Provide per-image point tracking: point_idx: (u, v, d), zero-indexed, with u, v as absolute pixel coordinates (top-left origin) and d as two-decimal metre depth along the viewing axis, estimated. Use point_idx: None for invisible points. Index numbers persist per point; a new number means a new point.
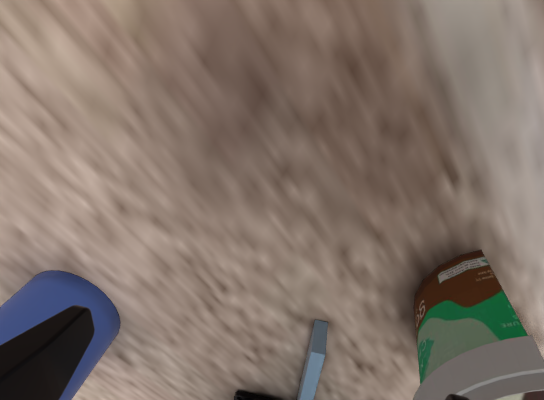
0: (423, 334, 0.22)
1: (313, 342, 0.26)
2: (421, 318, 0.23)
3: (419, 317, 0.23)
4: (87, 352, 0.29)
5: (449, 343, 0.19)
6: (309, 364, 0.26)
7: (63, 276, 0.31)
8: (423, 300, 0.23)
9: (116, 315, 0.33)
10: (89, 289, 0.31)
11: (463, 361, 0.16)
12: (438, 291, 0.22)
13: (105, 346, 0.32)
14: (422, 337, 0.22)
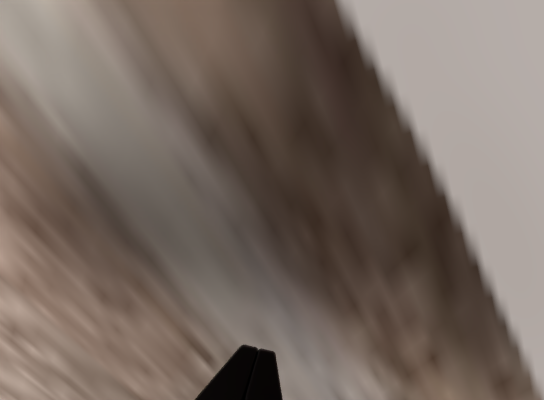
0: None
1: None
2: None
3: None
4: None
5: None
6: None
7: None
8: None
9: None
10: None
11: None
12: None
13: None
14: None
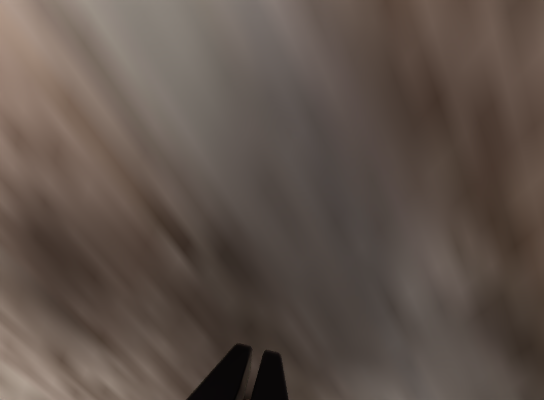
0: None
1: None
2: None
3: None
4: None
5: None
6: None
7: None
8: None
9: None
10: None
11: None
12: None
13: None
14: None
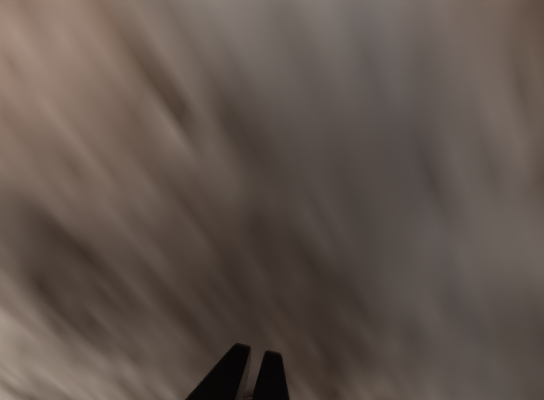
0: None
1: None
2: None
3: None
4: None
5: None
6: None
7: None
8: None
9: None
10: None
11: None
12: None
13: None
14: None
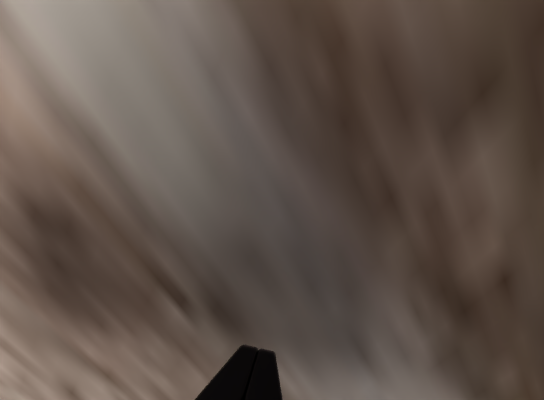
0: None
1: None
2: None
3: None
4: None
5: None
6: None
7: None
8: None
9: None
10: None
11: None
12: None
13: None
14: None
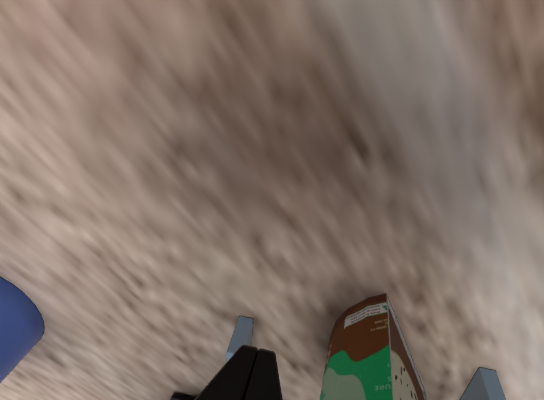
0: (323, 383, 0.21)
1: (231, 341, 0.24)
2: (326, 365, 0.22)
3: (326, 362, 0.23)
4: None
5: None
6: None
7: None
8: (331, 344, 0.23)
9: (37, 314, 0.30)
10: (2, 287, 0.29)
11: None
12: (341, 337, 0.22)
13: (23, 347, 0.29)
14: (322, 386, 0.21)
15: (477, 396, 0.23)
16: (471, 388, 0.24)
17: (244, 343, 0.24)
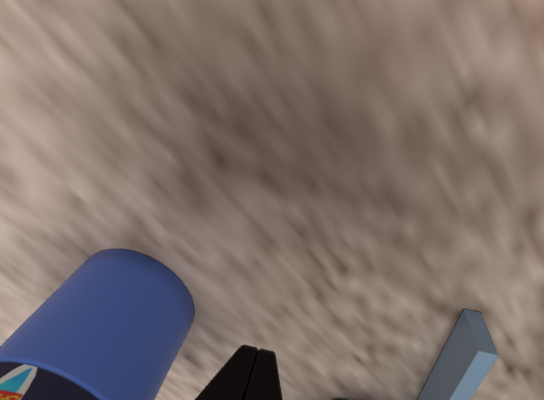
0: None
1: (475, 338, 0.20)
2: None
3: None
4: (166, 352, 0.23)
5: None
6: (470, 367, 0.20)
7: (129, 255, 0.24)
8: None
9: (191, 305, 0.26)
10: (162, 272, 0.24)
11: None
12: None
13: (180, 344, 0.25)
14: None
15: None
16: None
17: (491, 341, 0.20)
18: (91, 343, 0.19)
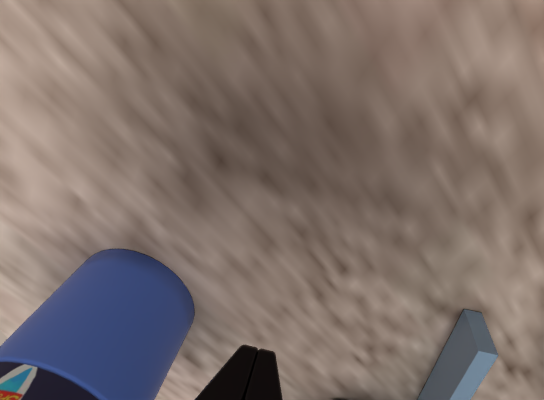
0: None
1: (475, 338, 0.20)
2: None
3: None
4: (166, 351, 0.23)
5: None
6: (470, 367, 0.20)
7: (129, 255, 0.24)
8: None
9: (191, 305, 0.26)
10: (162, 272, 0.24)
11: None
12: None
13: (180, 344, 0.25)
14: None
15: None
16: None
17: (491, 341, 0.20)
18: (91, 343, 0.19)
